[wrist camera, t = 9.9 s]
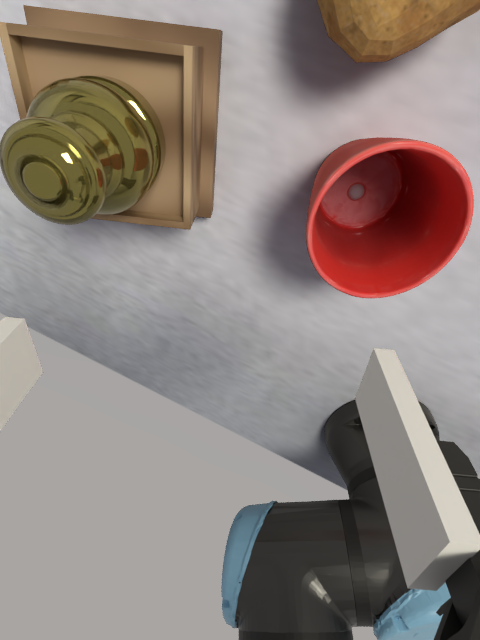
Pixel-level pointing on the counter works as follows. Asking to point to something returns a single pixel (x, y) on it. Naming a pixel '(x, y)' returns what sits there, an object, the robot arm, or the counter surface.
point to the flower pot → (387, 215)
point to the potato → (389, 24)
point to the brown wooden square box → (148, 79)
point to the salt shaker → (83, 150)
